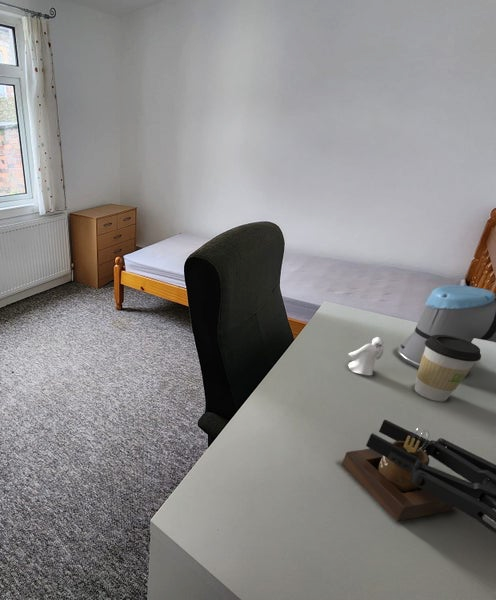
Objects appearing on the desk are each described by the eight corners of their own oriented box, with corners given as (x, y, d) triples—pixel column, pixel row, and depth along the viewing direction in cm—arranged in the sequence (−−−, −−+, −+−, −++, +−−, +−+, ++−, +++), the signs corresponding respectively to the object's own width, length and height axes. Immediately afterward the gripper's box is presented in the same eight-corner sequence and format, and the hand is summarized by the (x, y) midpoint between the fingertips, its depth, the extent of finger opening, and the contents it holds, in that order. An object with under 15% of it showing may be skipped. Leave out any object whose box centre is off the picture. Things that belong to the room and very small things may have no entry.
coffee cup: (467, 408, 82) (497, 356, 76) (420, 403, 84) (446, 351, 78) (438, 384, 91) (463, 335, 85) (397, 379, 93) (418, 331, 87)
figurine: (352, 376, 94) (366, 339, 89) (338, 360, 101) (350, 325, 96) (382, 379, 93) (398, 341, 88) (366, 363, 100) (380, 327, 95)
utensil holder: (423, 483, 62) (450, 433, 57) (410, 501, 58) (437, 450, 54) (384, 460, 66) (406, 412, 61) (370, 476, 63) (392, 427, 58)
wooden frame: (389, 457, 69) (396, 444, 68) (452, 510, 59) (461, 496, 57) (341, 464, 67) (346, 451, 66) (396, 521, 57) (404, 507, 56)
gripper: (556, 601, 43) (348, 470, 60) (569, 519, 52) (386, 427, 70) (591, 565, 40) (361, 438, 57) (598, 485, 49) (400, 397, 67)
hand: (375, 432), depth 63 cm, fingers closed on utensil holder, 5 cm apart
